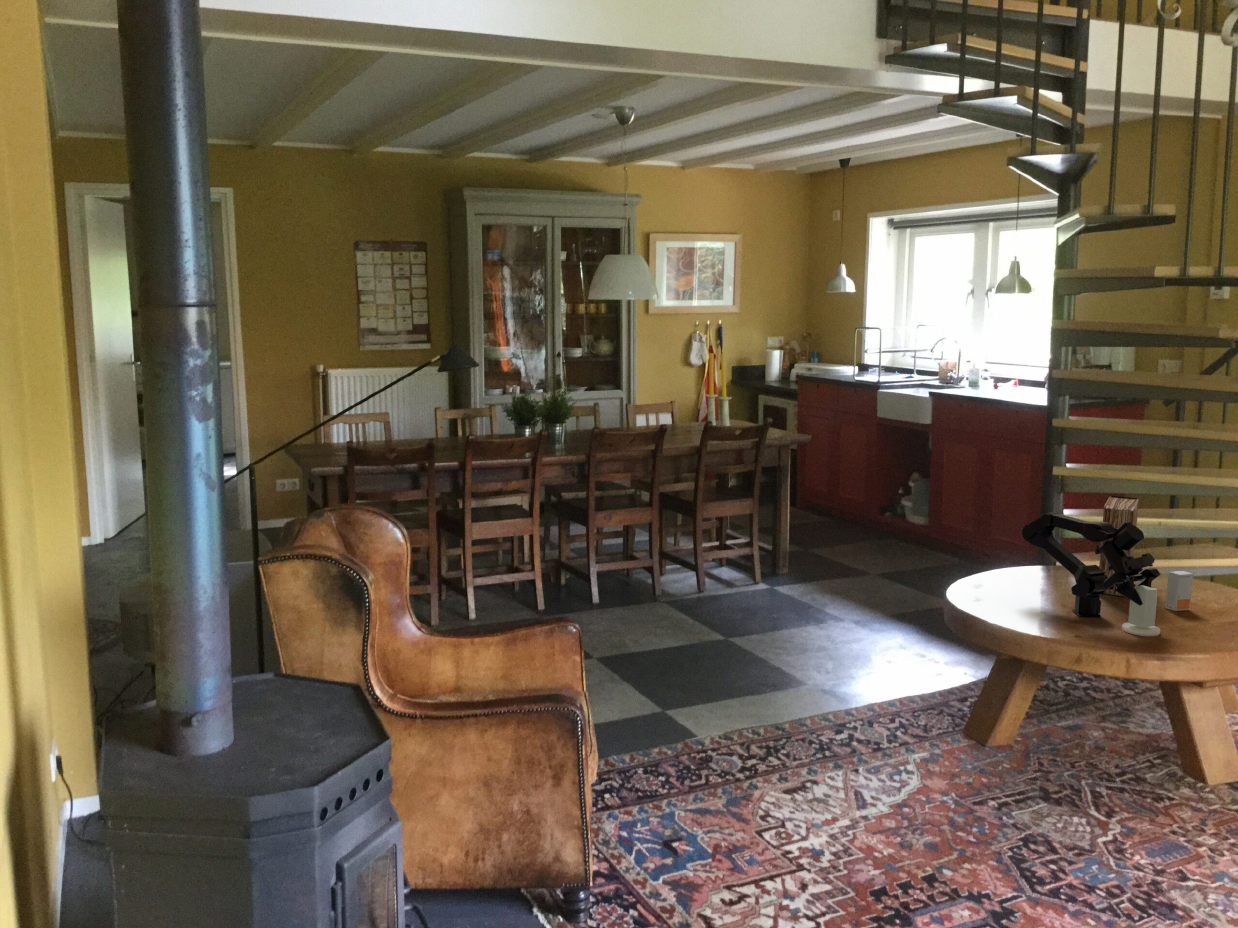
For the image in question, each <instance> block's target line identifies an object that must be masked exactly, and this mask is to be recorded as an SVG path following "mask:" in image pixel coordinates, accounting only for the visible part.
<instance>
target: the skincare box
mask: <svg viewBox="0 0 1238 928" xmlns="http://www.w3.org/2000/svg"><path fill="white" fill-rule="evenodd" d="M1193 580H1194V573H1191V572H1189V571H1186V570H1175V571H1169V572H1168V576H1167V586H1166V595H1165V604H1164V608H1165V609H1168V610H1170V611H1173V612H1178V611H1181V612H1182V611H1190V609H1191V601H1192V593H1193V592H1192V591H1193V582H1194V581H1193Z"/></svg>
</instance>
